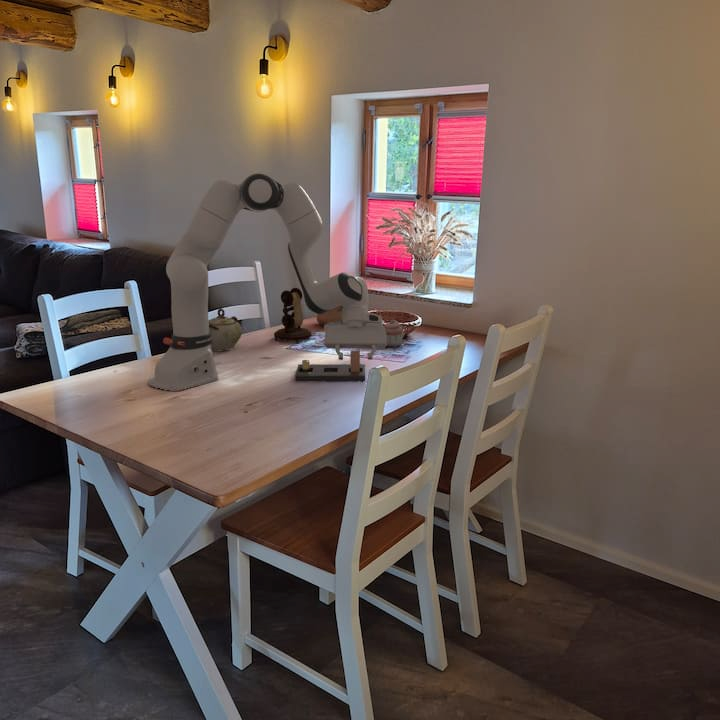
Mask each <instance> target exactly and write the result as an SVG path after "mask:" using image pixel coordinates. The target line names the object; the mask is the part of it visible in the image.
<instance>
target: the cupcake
mask: <svg viewBox="0 0 720 720" xmlns="http://www.w3.org/2000/svg"><path fill="white" fill-rule="evenodd" d="M383 326H384V328H385V331H386V338H387V345H386V347H389V348H390V347H392V348H393V347H394V348H395V347H400V346H401V345H402V342H403V338H404V337H405V332H404V331H403V329H404V328H403V326H402V325H400V323H399V322H398V320H395V319H391V320H390V321H389V322H387V323H385V324H384V325H383Z"/></svg>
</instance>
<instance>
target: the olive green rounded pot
mask: <svg viewBox="0 0 720 720" xmlns="http://www.w3.org/2000/svg"><path fill="white" fill-rule="evenodd" d="M221 312H222V313H221ZM217 315H218V316H216V317H214V318H213V317H212V318H211V319H209V331H210V332H211V337H212V338H211V340H212V343H211V350H212V349H213V350H212V351H216V350H227V349H231V348H233V349H234V348H235V346H236V345H237V344H238V342H239V340H240V339H241V337H242V335H243V329H242V326H241V325H240V323H239V321H238V317H236V316H234V315H233V316H231V317H229V316H228V317H227V316H225V310H224V309H223V308H218V310H217ZM231 350H232V349H231ZM227 351H228V350H227Z"/></svg>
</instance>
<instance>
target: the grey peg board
mask: <svg viewBox="0 0 720 720" xmlns="http://www.w3.org/2000/svg"><path fill="white" fill-rule="evenodd" d="M295 381H327V382H328V383H329V382H331V383H334V382H335V383H336V382H337V383H339V382H340V383H341V382H342V383H343V382H345V383H346V382H349V383H350V382H351V383H354V382H355V383H359V382H358V381H361V382H362V383H363V381H365V382H366V365H365V364H364V363H362V364H361V363H360V372H351V364H350V363H349V364H348V363H347V364H346V363H345V364H343V363H342V364H339V363H338V364H333V363H331V364H326V363H325V364H315V363H313V364H310V360H309V359H304V360H302V361H301V364H297V368H296V371H295V374H294V382H295ZM361 382H360V383H361Z"/></svg>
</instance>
